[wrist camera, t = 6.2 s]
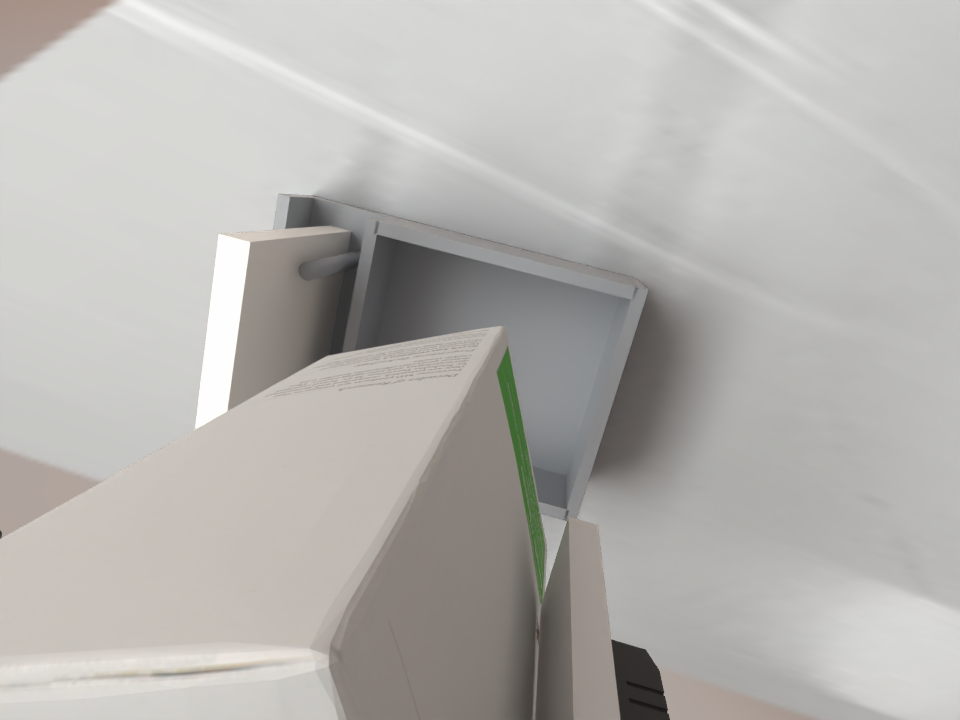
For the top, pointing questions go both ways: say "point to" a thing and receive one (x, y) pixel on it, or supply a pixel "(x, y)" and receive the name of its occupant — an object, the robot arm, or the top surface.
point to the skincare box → (298, 557)
